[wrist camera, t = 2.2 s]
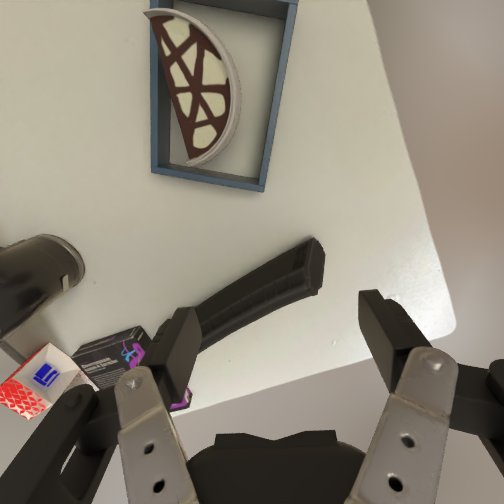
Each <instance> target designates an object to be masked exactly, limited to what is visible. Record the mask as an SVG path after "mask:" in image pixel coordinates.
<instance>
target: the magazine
mask: <svg viewBox="0 0 504 504" xmlns="http://www.w3.org/2000/svg"><path fill="white" fill-rule="evenodd" d="M324 264H325V252H324V251H323V247H322V246H321V244H320V243H319V241H318V240H317V241H316V239H315V238H314V237H313V238H311V239H310V240H309V241H307V242H305V243H304V244H302V245H300V246H298V247H296V248H294V249H292V250H291V251H289V252H287V253H285V254H283V255H281V256H279V257H278V258H276V259H274V260H272V261H270V262H268V263H267V264H265V265H263V266H261V267H259V268H258V269H256V270H254V271H252V272H251V273H249V274H247V275H246V276H244V277H242V278H241V279H239V280H237V281H236V282H234V283H232V284H231V285H229V286H228V287H226V288H224V289H223V290H221V291H220V292H218V293H217V294H215V295H214V296H212V297H211V298H209V299H208V300H206V301H205V302H204V303H202V304H201V305H199V306H198V307H197V308H195V312H196V315H197V318H198V321H199V325H200V328H201V332H202V342H201V345H200V348H199V351H198V354H199V353H201V352H202V351H204V350H205V349H207V348H208V347H210V346H211V345H213V344H215V343H216V342H218V341H220V340H221V339H223V338H224V337H226V336H228V335H230V334H231V333H233V332H235V331H237V330H238V329H240V328H242V327H244V326H246V325H248V324H250V323H252V322H254V321H256V320H258V319H260V318H262V317H264V316H265V315H267V314H269V313H271V312H273V311H275V310H277V309H279V308H282V307H284V306H286V305H288V304H291V303H293V302H296V301H298V300H301V299H304V298H307V297H309V296H315V295H318V289H320V288H321V287H322V282H323V273H324ZM198 354H197V355H198Z"/></svg>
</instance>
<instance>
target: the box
mask: <svg viewBox="0 0 504 504" xmlns="http://www.w3.org/2000/svg"><path fill="white" fill-rule="evenodd" d="M150 343H152V341H151V340H150V338H149V337H148V336H147V334H146V333H145V332H144V330H143V329H142V328H141V326H138V327H136V328H133V329H130V330H127V331H124V332H121V333H118V334H115V335H113V336H110V337H107V338H104V339H101V340H98V341H95V342H92V343H89V344H86V345H83V346H81V347H80V348H79V349H78V350H77V351H76V352H75V353H74V354H73V355H72V356H71V359H72V360H73V361H74V363H75V364H76V365H77V366H78V367H79V368H80V369H81V370H82V371H83V372H84V374H86V376H87V377H88V378H89V379H90V380H91V381H92V382H93V383H94V384H95V385H96V386H97V387H98V388H99V390H102V389H105V388H108V387H111V386H114V385H115V384H116V382H117V381H118V379H119V378H120V377H121V376H122V375H123V374H124V373H125V372H127V371H128V370H130V369H132V368H135V367H138V365H139V363H140V361H141V359H142V358H143V356H144V354H145V352H146V351H147V349H148V347H149V345H150ZM191 398H192V393H191V392H190V391H189V389H188V388H186V392H185V395H184V398H183V401H182V404H172V405H171V408H170V411H169V412H174V411H178V410H182V409H187V408H189V407H190V403H191Z"/></svg>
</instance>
